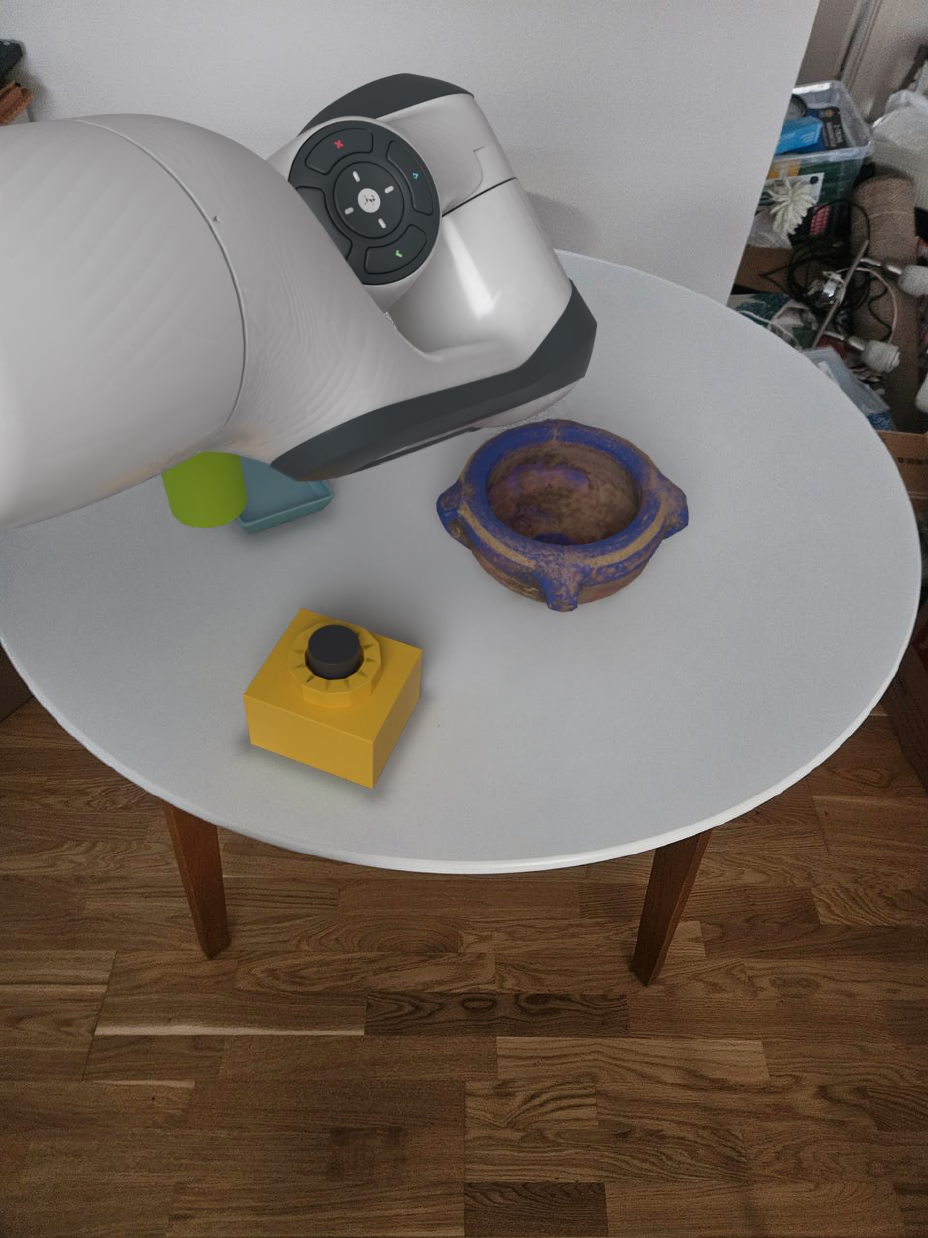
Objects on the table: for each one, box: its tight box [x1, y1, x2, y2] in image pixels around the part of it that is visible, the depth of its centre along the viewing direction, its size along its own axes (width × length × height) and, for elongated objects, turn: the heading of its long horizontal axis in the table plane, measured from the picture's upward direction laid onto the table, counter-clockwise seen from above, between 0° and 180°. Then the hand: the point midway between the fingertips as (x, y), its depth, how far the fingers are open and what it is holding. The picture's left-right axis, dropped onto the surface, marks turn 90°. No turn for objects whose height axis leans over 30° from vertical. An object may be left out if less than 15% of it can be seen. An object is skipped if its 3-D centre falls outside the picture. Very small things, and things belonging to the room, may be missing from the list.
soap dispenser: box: [160, 452, 247, 529], centre depth 67 cm, size 6×7×20 cm
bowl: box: [435, 418, 690, 613], centre depth 84 cm, size 18×18×10 cm
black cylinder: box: [308, 625, 360, 679], centre depth 68 cm, size 4×4×2 cm
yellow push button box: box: [242, 607, 423, 790], centre depth 72 cm, size 10×9×8 cm
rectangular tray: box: [235, 456, 336, 534], centre depth 94 cm, size 26×9×2 cm, turn 31°
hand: (176, 375), depth 67 cm, fingers closed on soap dispenser, 6 cm apart
